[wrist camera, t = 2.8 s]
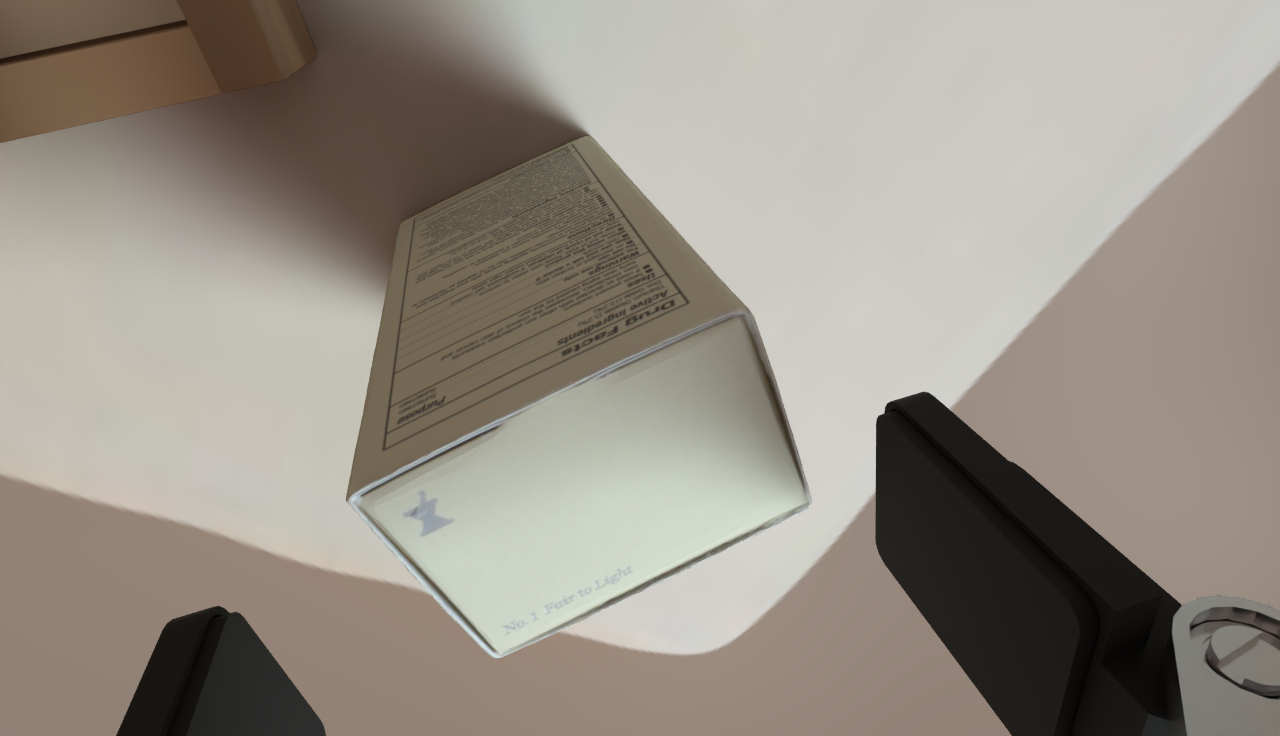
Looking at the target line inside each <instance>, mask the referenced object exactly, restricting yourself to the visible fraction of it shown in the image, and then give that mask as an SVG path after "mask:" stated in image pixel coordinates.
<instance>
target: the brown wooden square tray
mask: <svg viewBox="0 0 1280 736" xmlns="http://www.w3.org/2000/svg"><path fill="white" fill-rule="evenodd" d="M316 56H318V55H317V53H316V50H315V48H314V45H313V43H312V40H311V38H310V35H309V33H308V30H307V28H306V25H305V23H304V20H303V17H302V15H301V12H300V10H299V7H298V5H297V2H296V0H0V143H2V142H6V141H11V140H16V139H20V138H25V137H29V136H34V135H38V134H43V133H47V132H52V131H56V130H61V129H65V128H70V127H74V126H79V125H83V124H88V123H93V122H97V121H102V120H106V119H111V118H115V117H120V116H124V115H129V114H133V113H138V112H142V111H147V110H151V109H156V108H160V107H165V106H170V105H174V104H179V103H183V102H188V101H192V100H197V99H201V98H206V97H210V96H215V95H219V94H224V93H228V92H233V91H237V90H242V89H247V88H251V87H256V86H260V85H265V84H269V83H274V82H278V81H283V80H285V79H286V78H288V77H289V76H290V75H292V74H293V73H294V72H296V71H297V70H299V69H300V68H301V67H303V66H304V65H305V64H307V63H308V62H310V61H311V60H312V59H314V58H315V57H316Z"/></svg>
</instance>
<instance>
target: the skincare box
mask: <svg viewBox="0 0 1280 736" xmlns="http://www.w3.org/2000/svg"><path fill="white" fill-rule="evenodd" d="M346 501H347V503H348V504H349V505H350V506H351V507H352V508H353V509H354V510H355V511H356V512H357V513H358V514H359V515H360V516H361V517H362V518H363V519H364V520H365V521H366V523H367V524H368V526H369V527H370V528H371V529H372V530H373V532H374V533H375V534H376V535H377V536H378V537H379V538H380V539H381V540H382V541H383V543H384V544H385V545H386V546H387V547H388V548H389V549H390V550H391V551H392V552H393V554H394V555H395V556H396V558H397V559H398V560H399V561H400V562H402V564H403V565H404V566H405V568H406V569H407V570H408V571H409V572H410V573H411V574H412V575H413V576H414V577H415V578H416V579H417V580H418V581H419V582H420V584H421V585H422V586H423V587H424V588H425V589H426V590H427V591H428V592H429V593H430V594H431V595H432V596H433V597H434V598H435V600H436V601H437V602H438V603H439V605H440V606H441V607H442V608H443V609H444V610H445V611H446V612H447V613H448V614H449V615H450V616H451V617H452V618H453V619H454V620H455V621H456V622H457V623H458V624H459V625H460V626H461V627H462V628H463V629H464V630H465V631H466V632H467V633H468V634H469V635H470V636H471V637H472V638H473V639H474V640H475V641H476V642H477V643H478V644H479V645H480V646H481V647H482V648H483V649H484V651H485V652H486V653H487V654H488V655H490V656H491V657H494V658H501V657H503V656H506V655H508V654H511V653H513V652H515V651H517V650H519V649H521V648H523V647H525V646H528V645H530V644H533V643H535V642H537V641H539V640H541V639H543V638H545V637H548V636H550V635H552V634H555V633H557V632H559V631H561V630H563V629H565V628H567V627H569V626H571V625H573V624H575V623H577V622H579V621H582V620H584V619H586V618H588V617H590V616H592V615H594V614H597V613H599V612H600V611H602V610H604V609H606V608H609V607H610V606H612V605H615V604H617V603H619V602H621V601H623V600H625V599H627V598H629V597H631V596H633V595H636V594H638V593H640V592H642V591H644V590H647V589H648V588H650V587H652V586H654V585H656V584H658V583H660V582H662V581H664V580H666V579H668V578H671V577H673V576H675V575H678V574H680V573H682V572H683V571H684V570H685V569H689V568H691V567H692V566H694V565H697V564H699V563H701V562H703V561H705V560H707V559H709V558H711V557H714V556H716V555H718V554H720V553H721V552H723V551H726V550H728V549H730V548H731V547H733V546H735V545H737V544H739V543H741V542H743V541H745V540H747V539H749V538H751V537H753V536H756V535H758V534H759V533H761V532H763V531H765V530H767V529H770V528H772V527H774V526H776V525H778V524H779V523H781V522H783V521H785V520H788V519H790V518H792V517H793V516H795V515H798V514H800V513H802V512H803V511H805V510H807V509H808V508H809V507H810V505H811V504H812V498H811V494H810V491H809V487H808V484H807V481H806V478H805V475H804V471H803V468H802V464H801V460H800V457H799V454H798V451H797V447H796V444H795V440H794V437H793V433H792V430H791V428H790V425H789V421H788V418H787V415H786V412H785V408H784V405H783V402H782V399H781V395H780V392H779V389H778V385H777V382H776V379H775V376H774V373H773V370H772V367H771V364H770V362H769V359H768V356H767V353H766V350H765V347H764V344H763V341H762V338H761V335H760V333H759V330H758V327H757V324H756V321H755V318H754V316H753V314H752V313H751V311H750V310H749V309H748V308H747V307H746V306H745V305H744V304H743V302H742V301H741V300H740V299H739V298H738V297H737V296H736V295H735V294H734V293H733V292H732V291H731V290H730V289H729V288H728V287H727V285H726V284H725V283H724V282H723V281H722V280H721V279H720V278H719V277H718V276H717V275H716V274H715V273H714V272H713V270H712V269H711V268H710V267H709V266H708V265H707V264H706V262H705V261H704V260H703V259H702V258H701V257H700V256H699V255H698V254H697V253H696V252H695V251H694V249H693V248H692V247H691V246H690V245H689V244H688V243H687V242H686V241H685V239H684V238H683V237H682V236H681V235H680V234H679V233H678V231H677V230H676V229H675V228H674V227H673V226H672V225H671V224H670V222H669V221H668V220H667V219H666V218H665V217H664V216H663V215H662V214H661V213H660V212H659V210H658V209H657V208H656V207H655V206H654V205H653V204H652V203H651V202H650V201H649V200H648V198H647V197H646V196H645V195H644V194H643V193H642V192H641V191H640V190H639V188H638V187H637V186H636V185H635V184H634V183H633V182H632V181H631V179H630V178H629V177H628V176H627V175H626V174H625V173H624V171H623V170H622V169H621V168H620V167H619V166H618V165H617V164H616V163H615V162H614V160H613V159H612V158H611V157H610V156H609V155H608V154H607V153H606V152H605V150H604V149H603V148H602V147H601V146H600V145H599V144H598V143H597V142H596V141H595V139H594V138H592V137H590V136H584V137H581V138H579V139H577V140H574V141H572V142H570V143H567V144H565V145H563V146H561V147H558V148H556V149H554V150H552V151H549V152H547V153H545V154H542V155H540V156H538V157H536V158H534V159H531V160H529V161H527V162H525V163H523V164H521V165H518V166H516V167H514V168H512V169H510V170H508V171H505V172H503V173H501V174H499V175H497V176H495V177H493V178H490V179H488V180H486V181H484V182H482V183H480V184H478V185H476V186H473V187H471V188H469V189H467V190H465V191H463V192H461V193H459V194H457V195H455V196H453V197H451V198H448V199H446V200H444V201H442V202H440V203H438V204H436V205H434V206H432V207H430V208H428V209H426V210H424V211H422V212H420V213H419V214H417V215H414V216H412V217H410V218H408V219H407V220H405V221H403V222H402V223H401V224H400V225H399V229H398V234H397V239H396V244H395V250H394V255H393V261H392V266H391V272H390V276H389V280H388V286H387V291H386V296H385V301H384V306H383V311H382V317H381V322H380V328H379V332H378V337H377V343H376V348H375V351H374V356H373V362H372V367H371V373H370V379H369V383H368V388H367V395H366V400H365V405H364V411H363V416H362V420H361V425H360V430H359V435H358V440H357V444H356V449H355V454H354V459H353V465H352V470H351V475H350V480H349V485H348V490H347V496H346Z"/></svg>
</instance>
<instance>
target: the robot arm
mask: <svg viewBox="0 0 1280 736" xmlns="http://www.w3.org/2000/svg"><path fill="white" fill-rule="evenodd" d="M876 545H877V549H878V552H879V554H880V557H881V558H882V560H883V562H884V563H885V565H886V566H887V568H888V569H889V570H890V572H891V573H892V574H893V576H894V577H895V579H896V580H897V581H898V583H899V584H900V585H901V587H902V588H903V589H904V591H905V592H906V593H907V595H908V596H909V597H910V599H911V600H912V601H913V603H914V604H915V605H916V607H917V608H918V610H919V611H920V612H921V614H922V615H923V616H924V618H925V619H926V620H927V622H928V623H929V624H930V625H931V627H932V628H933V630H934V631H935V632H936V634H937V635H938V636H939V638H940V639H941V641H942V642H943V643H944V644H945V646H946V647H947V649H948V650H949V651H950V653H951V654H952V655H953V657H954V658H955V659H956V661H957V662H958V663H959V665H960V666H961V667H962V669H963V670H964V672H965V673H966V674H967V676H968V677H969V678H970V680H971V681H972V682H973V684H974V685H975V686H976V688H977V689H978V690H979V692H980V693H981V694H982V696H983V697H984V698H985V700H986V701H987V702H988V704H989V705H990V707H991V708H992V709H993V711H994V712H995V713H996V715H997V716H998V717H999V719H1000V720H1001V721H1002V723H1003V724H1004V725H1005V727H1006V728H1007V729H1008V731H1009V732H1010V734H1011V735H1012V736H1280V610H1277V609H1275V608H1273V607H1271V606H1269V605H1265V604H1262V603H1259V602H1255V601H1252V600H1248V599H1245V598H1239V597H1230V596H1220V595H1217V596H1208V597H1200V598H1196V599H1194V600H1192V601H1190V602H1188V603H1186V604H1184V605H1181V604H1180V603H1179V602H1178V601H1177V600H1175V599H1174V598H1173V597H1172V596H1171V595H1170V594H1168V593H1167V592H1166V591H1165V590H1164V589H1162V588H1161V587H1160V586H1159V585H1158V584H1157V583H1156V582H1154V581H1153V580H1152V579H1151V578H1150V577H1149V576H1147V575H1146V574H1145V573H1144V572H1142V571H1141V570H1140V569H1139V568H1138V567H1137V566H1136V565H1134V564H1133V563H1132V562H1131V561H1130V560H1129V559H1128V558H1126V557H1125V556H1124V555H1123V554H1122V553H1121V552H1119V551H1118V550H1117V549H1116V548H1115V547H1114V546H1112V545H1111V544H1110V543H1109V542H1108V541H1107V540H1105V539H1104V538H1103V537H1102V536H1101V535H1099V534H1098V533H1097V532H1096V531H1095V530H1094V529H1093V528H1091V527H1090V526H1089V525H1088V524H1087V523H1086V522H1084V521H1083V520H1082V519H1081V518H1080V517H1079V516H1077V515H1076V514H1075V513H1074V512H1073V511H1071V510H1070V509H1069V508H1068V507H1067V506H1066V505H1064V504H1063V503H1062V502H1061V501H1060V500H1059V499H1057V498H1056V497H1055V496H1054V495H1053V494H1052V493H1051V492H1049V491H1048V490H1047V489H1046V488H1045V487H1044V486H1042V485H1041V484H1040V483H1039V482H1037V481H1036V480H1035V479H1034V478H1033V477H1032V476H1031V475H1030V474H1028V473H1027V472H1026V471H1025V470H1024V469H1022V468H1021V467H1019V466H1018V465H1016V464H1015V463H1013V462H1010V461H1008V460H1007V459H1006V458H1005V457H1003V456H1002V455H1001V454H1000V453H999V452H998V451H996V450H995V449H994V448H993V447H992V446H991V445H989V444H988V443H987V442H986V441H985V440H983V439H982V438H981V437H980V436H979V435H978V434H977V433H976V432H975V431H973V430H972V429H971V428H970V427H968V425H966V424H965V423H964V422H963V421H962V420H960V418H958V417H957V416H956V415H955V414H954V413H953V412H951V411H950V410H949V409H948V408H947V407H946V406H944V405H943V404H942V403H941V402H940V401H939V400H938V399H936V398H935V397H934V396H933V395H931V394H930V393H928V392H921V393H918V394H914V395H911V396H908V397H905V398H901V399H898V400H895V401H891V402H889V403H887V405H886V407H885V413H884V414H882V415H880V416H878V418H877V422H876ZM116 736H326V734H325V729H324V726H323V724H322V722H321V720H320V719H319V717H318V716H317V715H316V713H315V712H314V711H313V709H312V708H311V707H310V705H309V704H308V703H307V701H306V700H305V699H304V697H303V696H302V695H301V693H300V692H299V691H298V689H297V688H296V687H295V686H294V684H293V683H292V681H291V680H290V679H289V677H288V676H287V674H286V673H285V672H284V670H283V669H282V668H281V666H280V665H279V664H278V662H277V661H276V660H275V658H274V657H273V656H272V655H271V653H270V652H269V650H268V649H267V648H266V646H265V645H264V644H263V642H262V641H261V640H260V638H259V637H258V636H257V634H256V633H255V632H254V630H253V629H252V628H251V626H250V625H249V624H248V623H247V621H246V620H245V618H244V617H243V616H242V615H241V614H240V613H237V612H234V613H229V612H228V611H227V610H226V609H225V608H222V607H220V606H216V607H212V608H208V609H205V610H202V611H198V612H195V613H192V614H189V615H185V616H182V617H179V618H175V619H172V620H171V621H170V622H168V623H167V624H166V626H165V627H164V629H163V631H162V633H161V635H160V637H159V640H158V642H157V644H156V646H155V649H154V651H153V653H152V655H151V658H150V660H149V662H148V665H147V667H146V669H145V671H144V674H143V676H142V678H141V681H140V683H139V685H138V687H137V690H136V692H135V694H134V697H133V699H132V701H131V703H130V706H129V708H128V710H127V713H126V715H125V717H124V720H123V722H122V724H121V726H120V728H119V731H118V733H117V735H116Z"/></svg>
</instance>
